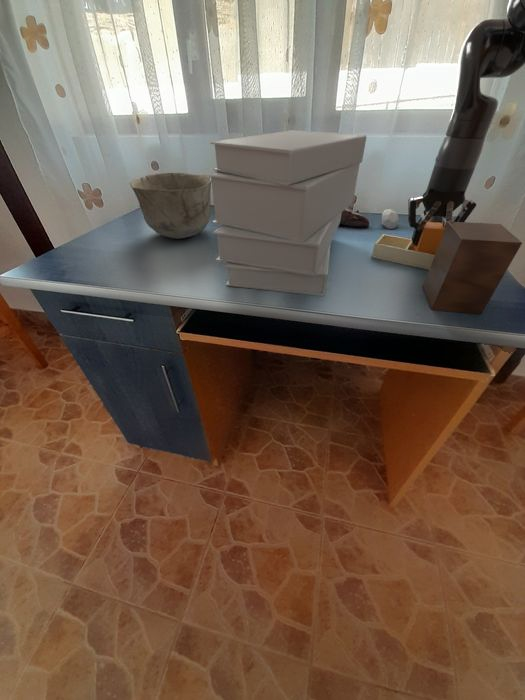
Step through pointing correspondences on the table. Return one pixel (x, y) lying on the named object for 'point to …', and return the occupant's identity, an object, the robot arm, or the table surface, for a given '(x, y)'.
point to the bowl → (174, 202)
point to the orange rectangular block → (430, 238)
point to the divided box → (401, 252)
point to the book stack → (282, 206)
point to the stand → (469, 266)
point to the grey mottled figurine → (436, 219)
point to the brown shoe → (353, 219)
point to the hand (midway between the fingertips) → (426, 245)
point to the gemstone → (390, 218)
